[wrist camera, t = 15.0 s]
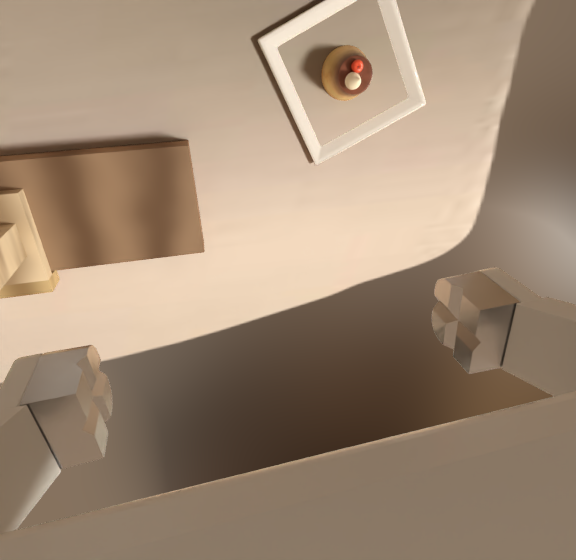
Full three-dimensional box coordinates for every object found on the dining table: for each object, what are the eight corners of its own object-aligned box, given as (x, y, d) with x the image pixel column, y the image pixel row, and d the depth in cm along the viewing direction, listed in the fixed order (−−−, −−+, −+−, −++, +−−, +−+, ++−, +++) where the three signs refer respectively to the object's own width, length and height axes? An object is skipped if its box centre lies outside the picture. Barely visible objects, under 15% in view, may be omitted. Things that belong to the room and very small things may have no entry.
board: (-34, 270, 41) (-46, 282, 38) (-82, 163, 36) (-100, 170, 34) (203, 242, 44) (204, 252, 42) (188, 140, 39) (188, 145, 37)
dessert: (380, -34, 36) (404, -44, 32) (421, 102, 42) (446, 108, 38) (255, 39, 37) (263, 38, 33) (313, 163, 43) (326, 175, 39)
